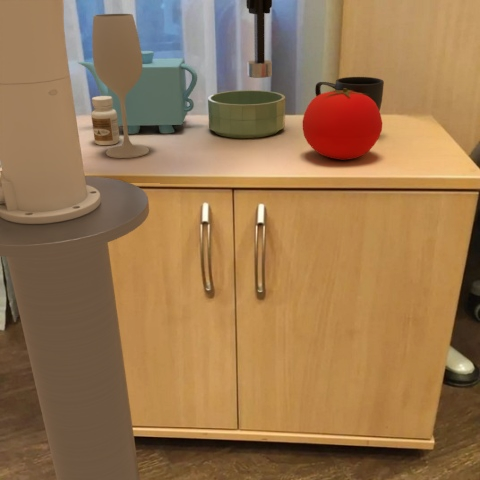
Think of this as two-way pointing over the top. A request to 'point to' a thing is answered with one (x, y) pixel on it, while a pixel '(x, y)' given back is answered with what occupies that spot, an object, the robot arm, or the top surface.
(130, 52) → the wineglass
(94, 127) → the pill bottle
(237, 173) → the top surface
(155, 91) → the teapot
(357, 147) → the tomato
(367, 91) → the mug
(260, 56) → the square post on disc
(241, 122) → the bowl
